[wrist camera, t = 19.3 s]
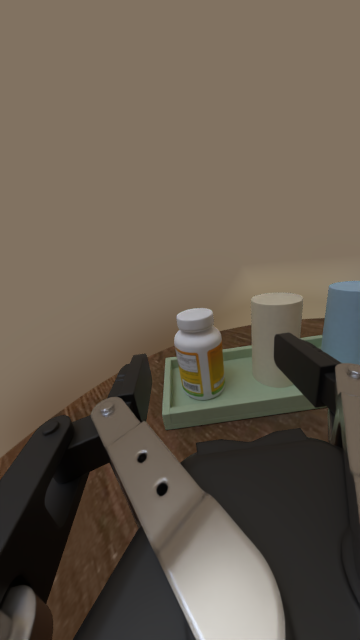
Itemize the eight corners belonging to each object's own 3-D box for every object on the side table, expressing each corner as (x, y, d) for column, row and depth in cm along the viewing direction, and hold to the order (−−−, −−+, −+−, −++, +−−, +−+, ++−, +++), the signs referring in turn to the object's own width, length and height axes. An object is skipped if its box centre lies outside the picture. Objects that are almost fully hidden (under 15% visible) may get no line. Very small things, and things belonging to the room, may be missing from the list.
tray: (165, 430, 19) (161, 414, 18) (167, 369, 29) (165, 358, 28) (437, 391, 19) (444, 374, 18) (344, 343, 29) (346, 331, 28)
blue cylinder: (316, 368, 23) (325, 290, 20) (322, 350, 27) (331, 281, 23) (372, 382, 20) (395, 291, 17) (372, 359, 23) (391, 280, 20)
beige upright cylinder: (245, 378, 24) (243, 302, 20) (260, 359, 27) (261, 291, 24) (290, 394, 20) (296, 306, 17) (301, 370, 24) (308, 293, 20)
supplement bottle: (218, 369, 26) (212, 303, 23) (231, 397, 21) (226, 317, 18) (180, 376, 26) (169, 310, 23) (184, 405, 21) (170, 326, 18)
